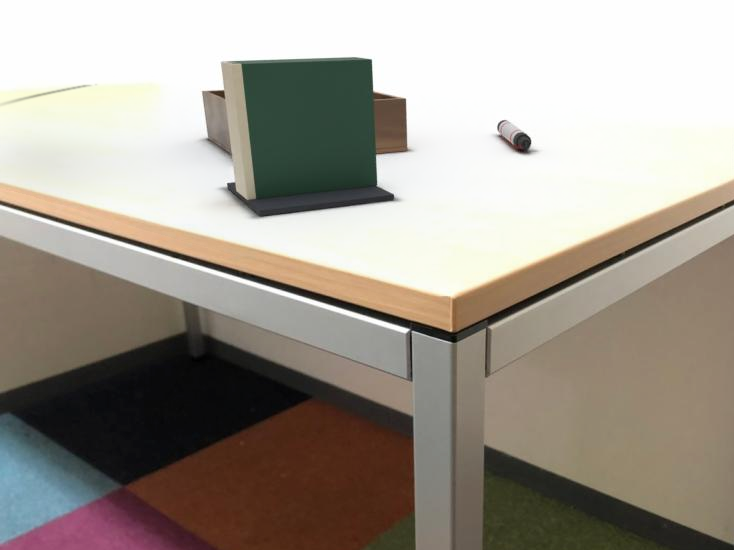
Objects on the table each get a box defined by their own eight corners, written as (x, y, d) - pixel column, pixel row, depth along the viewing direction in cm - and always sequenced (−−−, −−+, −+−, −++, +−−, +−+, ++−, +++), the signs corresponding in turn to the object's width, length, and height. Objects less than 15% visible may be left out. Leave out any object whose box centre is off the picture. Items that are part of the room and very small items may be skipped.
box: (207, 138, 98) (201, 90, 96) (345, 128, 106) (343, 84, 104) (247, 165, 81) (240, 108, 78) (407, 150, 89) (406, 98, 87)
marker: (496, 135, 100) (497, 119, 99) (511, 134, 100) (511, 119, 99) (519, 155, 86) (519, 137, 85) (535, 154, 86) (536, 136, 85)
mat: (227, 188, 71) (226, 182, 70) (346, 175, 76) (346, 170, 75) (259, 216, 61) (259, 210, 61) (394, 199, 66) (394, 194, 66)
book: (236, 191, 67) (220, 61, 63) (361, 177, 72) (355, 56, 68) (247, 200, 64) (231, 64, 59) (377, 185, 69) (372, 59, 65)
